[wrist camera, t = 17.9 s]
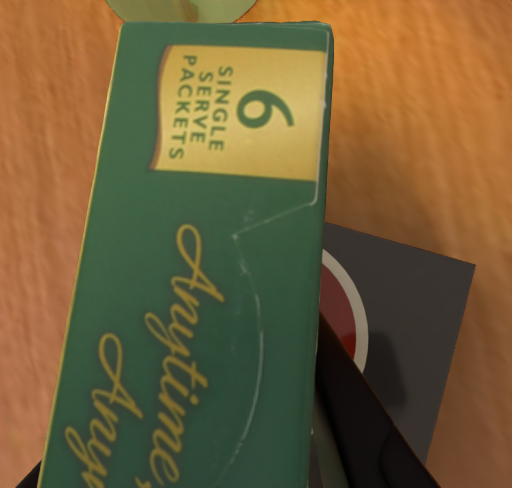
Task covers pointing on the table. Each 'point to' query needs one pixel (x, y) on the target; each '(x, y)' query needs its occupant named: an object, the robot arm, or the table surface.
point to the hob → (403, 327)
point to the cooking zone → (343, 309)
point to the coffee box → (199, 264)
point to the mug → (181, 10)
